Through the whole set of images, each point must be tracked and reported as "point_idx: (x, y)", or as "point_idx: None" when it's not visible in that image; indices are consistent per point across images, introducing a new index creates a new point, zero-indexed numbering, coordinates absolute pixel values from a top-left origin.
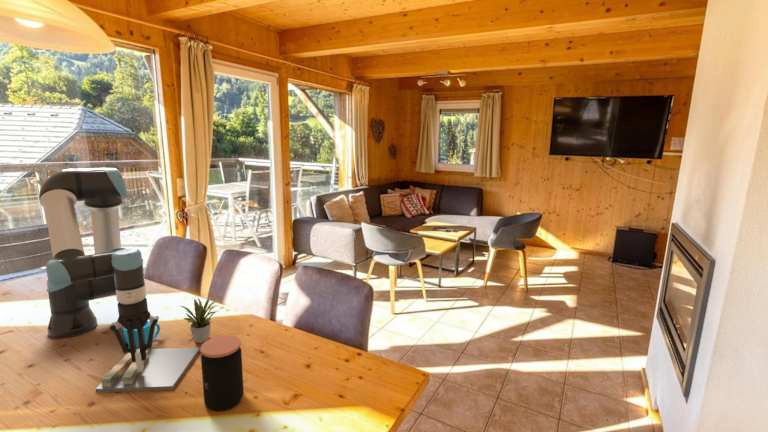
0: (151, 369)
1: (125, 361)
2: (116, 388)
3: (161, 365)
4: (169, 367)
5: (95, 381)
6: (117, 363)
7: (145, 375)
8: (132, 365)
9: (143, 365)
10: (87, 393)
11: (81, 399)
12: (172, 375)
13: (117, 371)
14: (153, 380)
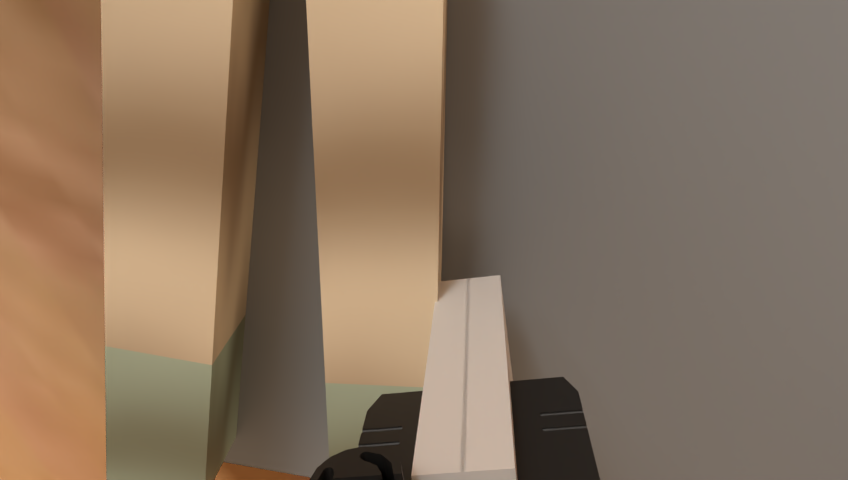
0: (572, 217)
1: (198, 140)
2: (306, 472)
3: (687, 152)
4: (797, 224)
5: (3, 228)
6: (107, 173)
7: (531, 332)
8: (355, 298)
9: (503, 308)
10: (56, 409)
11: (60, 477)
12: (841, 405)
13: (212, 369)
14: (642, 445)
